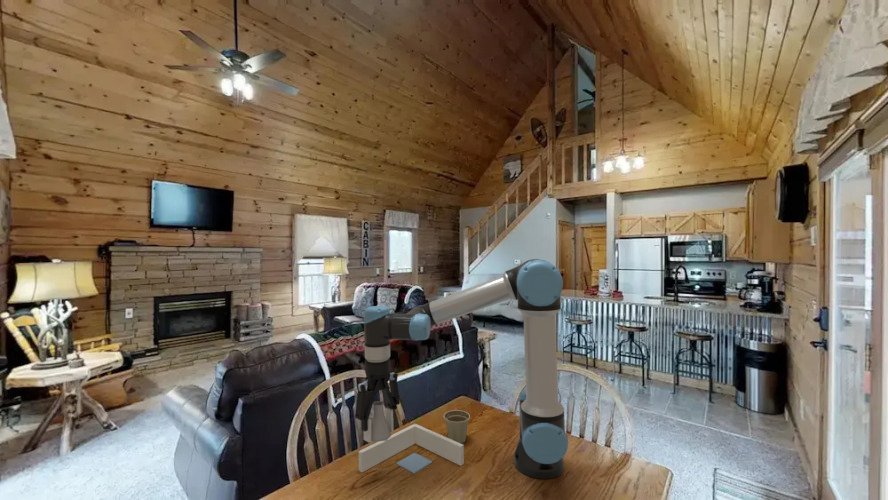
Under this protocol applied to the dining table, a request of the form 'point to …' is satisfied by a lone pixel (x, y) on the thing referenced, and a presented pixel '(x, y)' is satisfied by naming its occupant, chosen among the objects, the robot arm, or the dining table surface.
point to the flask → (379, 424)
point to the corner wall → (406, 439)
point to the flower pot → (457, 425)
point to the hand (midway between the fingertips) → (378, 435)
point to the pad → (414, 463)
